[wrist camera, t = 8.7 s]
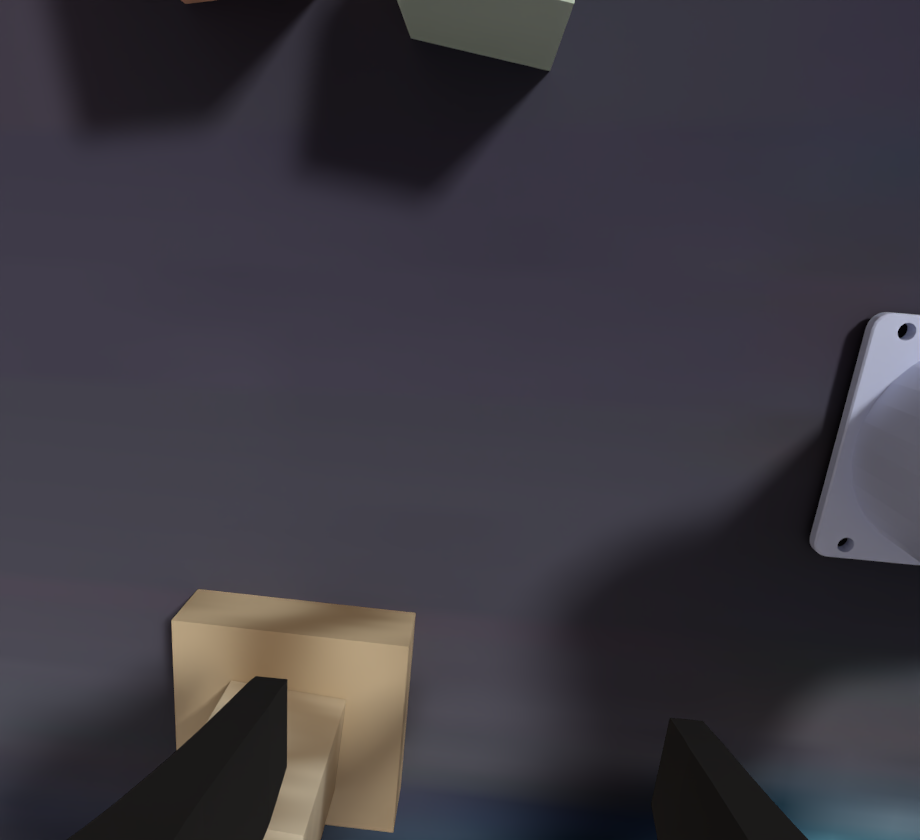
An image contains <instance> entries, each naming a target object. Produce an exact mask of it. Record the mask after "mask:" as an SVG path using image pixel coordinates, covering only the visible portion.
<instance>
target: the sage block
mask: <svg viewBox="0 0 920 840" xmlns="http://www.w3.org/2000/svg"><path fill="white" fill-rule="evenodd" d="M397 2H398V5H399V7H400V10H401V13H402V16H403V18H404V21H405V24H406V26H407V29H408V32H409V35H410V37H411V39H416V40H420V41H424V42H428V43H433V44H437V45H441V46H445V47H450V48H454V49H458V50H462V51H467V52H471V53H475V54H479V55H483V56H488V57H492V58H496V59H500V60H505V61H509V62H513V63H517V64H522V65H526V66H530V67H534V68H539V69H543V70H547V71H550V69H551V67H552V64H553V61H554V58H555V56H556V53H557V50H558V47H559V44H560V42H561V39H562V36H563V33H564V30H565V28H566V25H567V22H568V19H569V16H570V14H571V11H572V8H573V5H574V2H575V0H397Z"/></svg>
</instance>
